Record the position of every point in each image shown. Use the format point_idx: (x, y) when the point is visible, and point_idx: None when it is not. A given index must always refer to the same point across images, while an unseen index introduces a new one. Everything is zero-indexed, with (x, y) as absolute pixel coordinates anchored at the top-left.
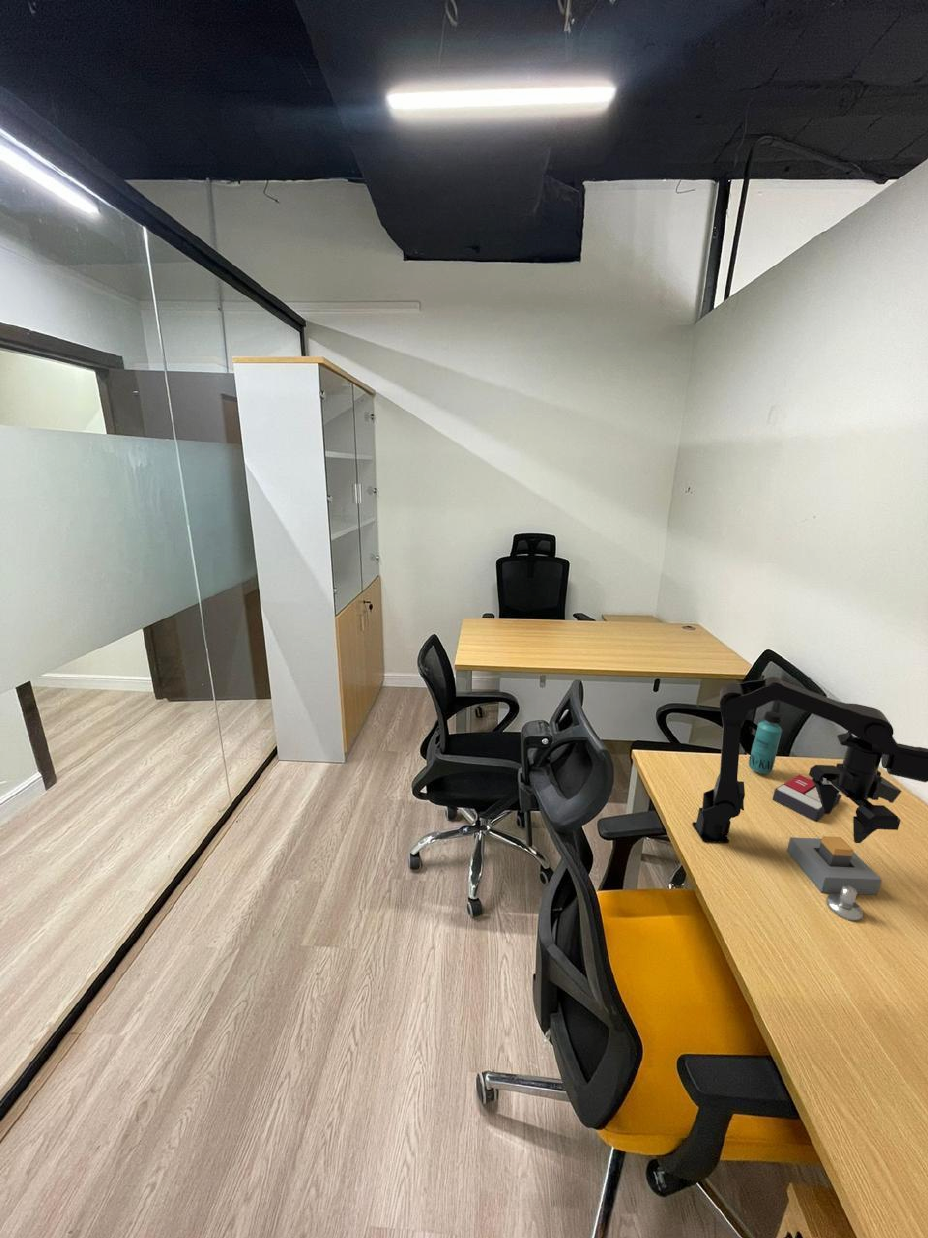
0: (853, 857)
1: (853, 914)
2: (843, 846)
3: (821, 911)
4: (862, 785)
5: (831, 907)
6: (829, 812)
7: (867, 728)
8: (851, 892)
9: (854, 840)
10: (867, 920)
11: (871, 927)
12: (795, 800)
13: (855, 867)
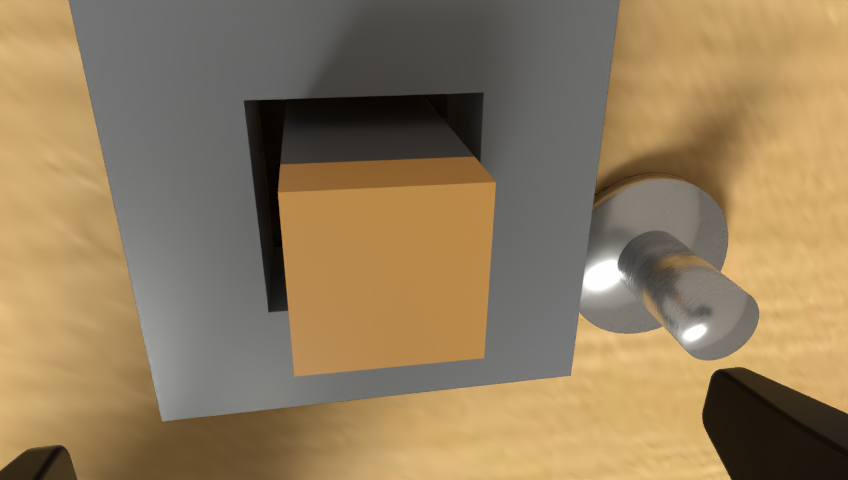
0: (354, 15)
1: (705, 251)
2: (445, 260)
3: (637, 365)
4: None
5: (644, 329)
6: (53, 478)
7: None
8: (743, 331)
9: (730, 455)
10: (718, 171)
11: (756, 180)
12: None
13: (481, 90)
